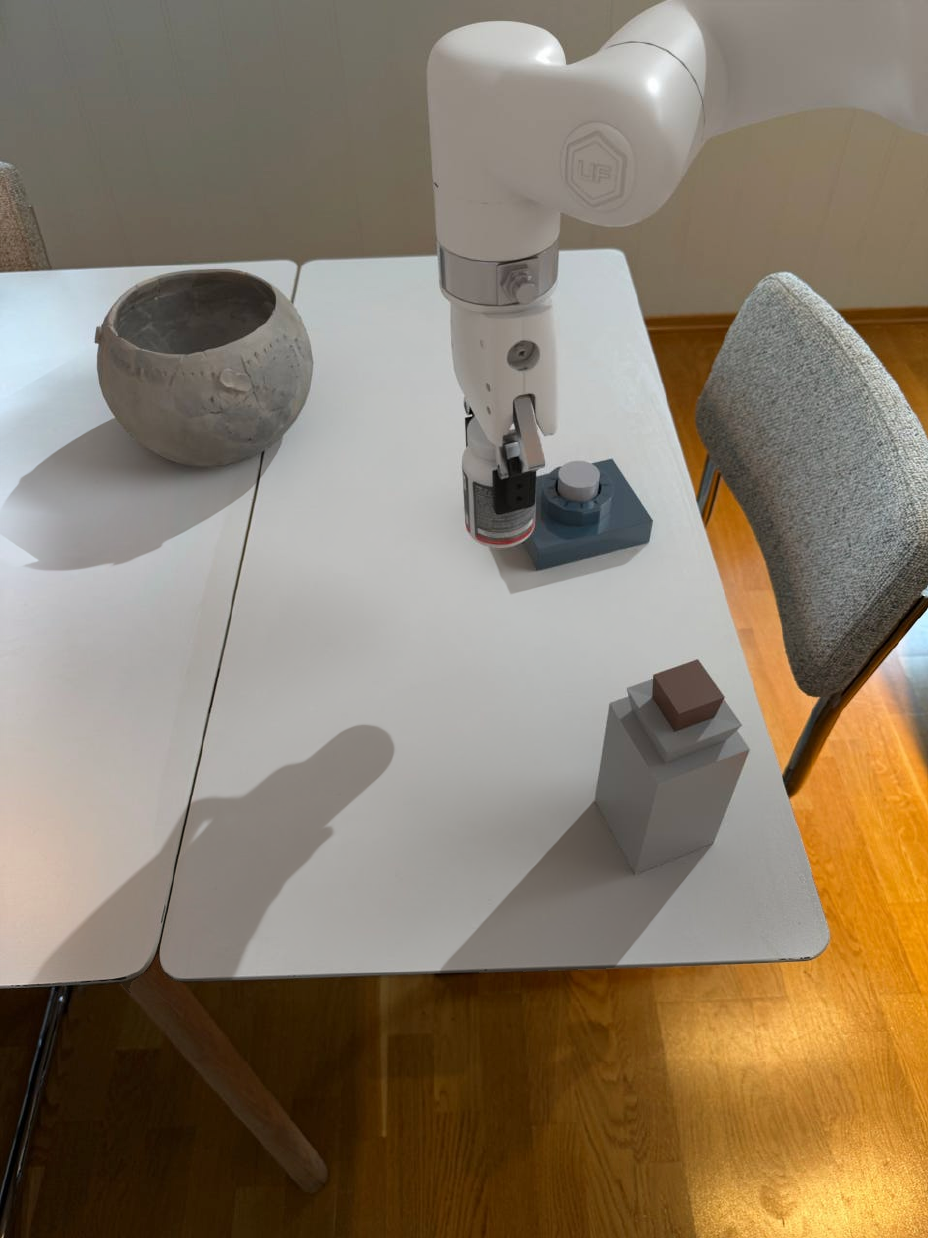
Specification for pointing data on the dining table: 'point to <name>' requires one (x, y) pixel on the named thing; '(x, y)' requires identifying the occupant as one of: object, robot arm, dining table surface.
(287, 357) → the bowl
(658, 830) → the perfume bottle
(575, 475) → the grey button cap
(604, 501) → the button housing
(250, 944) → the dining table surface
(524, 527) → the pill bottle
